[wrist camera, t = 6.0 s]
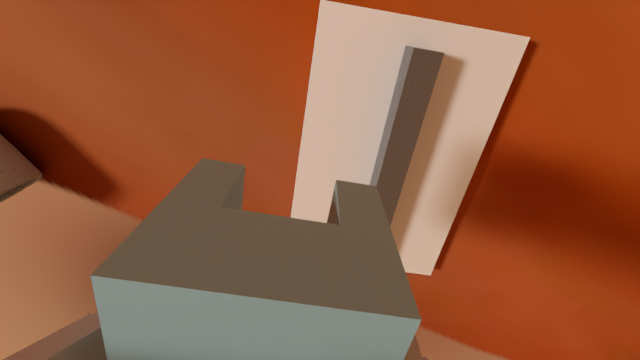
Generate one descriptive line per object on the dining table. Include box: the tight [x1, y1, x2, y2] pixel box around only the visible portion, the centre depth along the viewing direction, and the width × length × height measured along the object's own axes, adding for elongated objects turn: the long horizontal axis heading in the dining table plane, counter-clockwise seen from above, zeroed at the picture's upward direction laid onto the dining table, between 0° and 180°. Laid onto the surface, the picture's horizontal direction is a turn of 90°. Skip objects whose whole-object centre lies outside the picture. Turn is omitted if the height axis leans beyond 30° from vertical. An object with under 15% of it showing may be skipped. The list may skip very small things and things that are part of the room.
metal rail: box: [370, 46, 444, 225], centre depth 27 cm, size 20×2×2 cm, turn 171°
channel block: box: [91, 158, 421, 360], centre depth 11 cm, size 8×6×6 cm
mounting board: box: [291, 0, 530, 275], centre depth 29 cm, size 24×16×2 cm, turn 171°
